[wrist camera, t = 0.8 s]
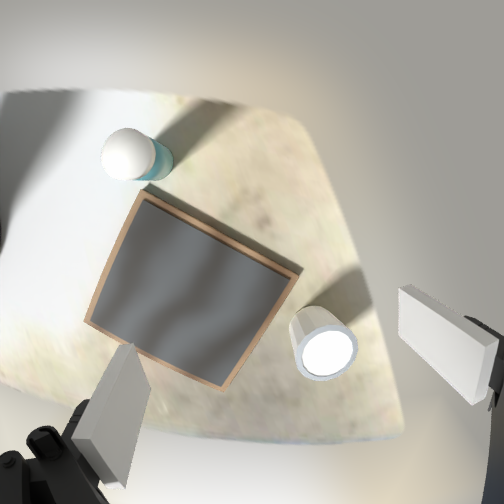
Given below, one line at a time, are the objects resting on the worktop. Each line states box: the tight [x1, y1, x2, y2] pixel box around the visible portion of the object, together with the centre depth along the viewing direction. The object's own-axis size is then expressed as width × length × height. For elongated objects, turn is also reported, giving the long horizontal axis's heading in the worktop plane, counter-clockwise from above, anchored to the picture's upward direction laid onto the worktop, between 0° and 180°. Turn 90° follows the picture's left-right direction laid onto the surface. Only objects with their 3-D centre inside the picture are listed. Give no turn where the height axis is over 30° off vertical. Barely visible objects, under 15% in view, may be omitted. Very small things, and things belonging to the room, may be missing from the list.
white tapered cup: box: [289, 306, 358, 381], centre depth 35 cm, size 7×7×7 cm
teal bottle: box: [101, 128, 173, 181], centre depth 27 cm, size 4×4×11 cm
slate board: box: [84, 189, 299, 392], centre depth 36 cm, size 20×18×1 cm
